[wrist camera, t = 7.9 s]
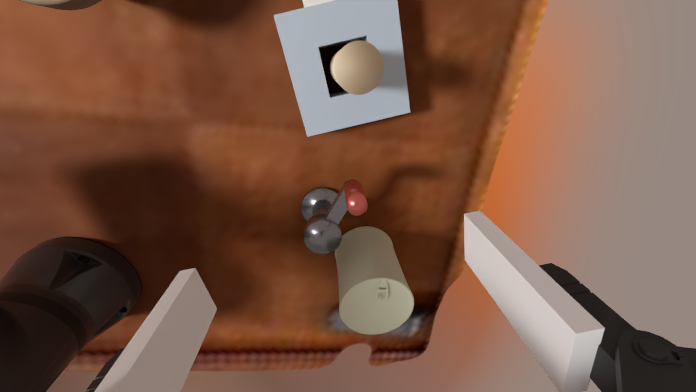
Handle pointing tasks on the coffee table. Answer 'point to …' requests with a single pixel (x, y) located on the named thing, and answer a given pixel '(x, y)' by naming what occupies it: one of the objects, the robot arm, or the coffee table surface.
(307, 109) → the block
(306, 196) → the crank post
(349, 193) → the chrome ball lever
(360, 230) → the can
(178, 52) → the coffee table surface
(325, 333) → the coffee table surface
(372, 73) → the dowel
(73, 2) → the flower pot
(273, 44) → the coffee table surface
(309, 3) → the mat
